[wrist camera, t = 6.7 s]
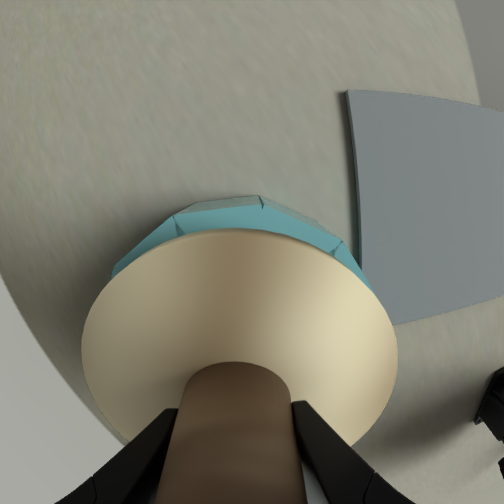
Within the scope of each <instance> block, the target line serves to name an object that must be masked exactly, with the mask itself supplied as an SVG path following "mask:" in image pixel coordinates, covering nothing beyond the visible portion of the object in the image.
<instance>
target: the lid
mask: <svg viewBox="0 0 504 504" xmlns="http://www.w3.org/2000/svg"><path fill="white" fill-rule="evenodd" d="M81 358H82V365H83V372H84V375H85V379H86V382H87V385H88V388H89V390H90V392H91V395H92V397H93V399H94V401H95V402H96V404H97V406H98V407H99V409H100V411H101V412H102V414H103V415H104V416H105V418H106V419H107V420H108V421H109V423H110V424H111V425H112V426H113V427H114V428H115V429H116V430H117V431H118V432H119V433H120V434H121V435H122V436H123V437H124V438H125V439H126V440H128V441H129V442H130V441H131V440H133V439H134V438H135V437H136V436H137V435H138V434H139V433H140V432H141V431H142V430H143V429H144V428H145V427H147V426H148V425H149V424H150V423H151V422H152V421H153V420H154V419H155V418H156V417H157V416H158V415H159V414H160V413H161V412H162V411H163V410H164V409H166V408H178V409H179V410H178V414H177V417H176V421H175V425H174V429H173V432H172V436H171V440H170V444H169V447H168V451H167V455H166V459H165V463H164V467H163V471H162V475H161V479H160V483H159V487H158V491H157V495H156V499H155V503H154V504H308V501H307V494H306V488H305V482H304V475H303V469H302V463H301V457H300V450H299V446H298V441H297V436H296V430H295V424H294V418H293V412H292V406H291V403H292V402H293V401H300V400H306V401H307V402H308V403H309V404H310V405H311V406H312V407H313V408H314V409H315V410H316V412H317V413H318V414H319V415H320V416H321V417H322V418H323V419H324V420H325V421H326V422H327V423H328V424H329V425H330V426H331V427H332V428H333V429H334V430H335V431H336V433H337V434H338V435H339V436H340V437H341V438H342V439H343V440H344V441H345V442H346V443H347V444H348V445H349V446H352V445H353V444H354V443H355V442H357V441H358V440H359V439H360V438H361V437H362V436H363V435H364V434H365V433H366V432H367V431H368V430H369V429H370V428H371V426H372V425H373V424H374V423H375V422H376V420H377V419H378V418H379V416H380V414H381V413H382V411H383V410H384V408H385V406H386V404H387V402H388V400H389V398H390V395H391V393H392V391H393V387H394V383H395V380H396V376H397V367H398V350H397V341H396V337H395V333H394V330H393V326H392V324H391V322H390V320H389V317H388V315H387V313H386V311H385V309H384V308H383V306H382V305H381V303H380V302H379V300H378V299H377V298H376V296H375V295H374V293H373V292H372V291H371V290H370V289H369V288H368V287H367V286H366V285H365V284H364V283H363V282H362V281H361V280H360V279H359V278H358V277H357V276H356V275H355V274H354V273H353V272H352V271H351V270H350V269H349V268H348V267H347V266H346V265H344V264H343V263H342V262H340V261H339V260H338V259H336V258H335V257H333V256H332V255H331V254H329V253H327V252H326V251H324V250H322V249H320V248H318V247H316V246H314V245H312V244H310V243H308V242H305V241H303V240H300V239H297V238H294V237H291V236H288V235H285V234H281V233H276V232H271V231H266V230H261V229H248V228H222V229H209V230H204V231H200V232H195V233H190V234H186V235H183V236H180V237H177V238H174V239H172V240H169V241H166V242H164V243H162V244H160V245H158V246H156V247H154V248H152V249H151V250H149V251H147V252H145V253H144V254H142V255H141V256H140V257H139V258H137V259H136V260H135V261H133V262H132V263H131V264H129V265H128V266H127V267H126V268H124V269H123V270H122V271H121V272H119V273H118V274H117V275H116V276H115V277H114V278H113V279H112V280H111V281H110V282H109V283H108V284H107V285H106V286H105V288H104V289H103V290H102V291H101V292H100V294H99V295H98V297H97V299H96V300H95V302H94V303H93V305H92V307H91V309H90V312H89V314H88V316H87V319H86V322H85V325H84V330H83V335H82V343H81Z"/></svg>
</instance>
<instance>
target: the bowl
mask: <svg viewBox="0 0 504 504" xmlns="http://www.w3.org/2000/svg"><path fill="white" fill-rule="evenodd" d="M222 228H248V229H261V230H266V231H271V232H276V233H281V234H285V235H288V236H291V237H294V238H297V239H300V240H303V241H305V242H308V243H310V244H312V245H314V246H316V247H318V248H320V249H322V250H324V251H326V252H327V253H329V254H331V255H332V256H333V257H335V258H336V259H338V260H339V261H340V262H342V263H343V264H344V265H346V266H347V267H348V268H349V269H350V270H351V271H352V272H353V273H354V274H355V275H356V276H357V277H358V278H359V279H360V280H361V281H362V282H363V283H364V284H365V285H366V286H367V287H368V288H369V289H370V290H371V291H372V292H373V293H374V291H373V290H372V288H371V286H370V285H369V283H368V281H367V279H366V278H365V276H364V274H363V273H362V271H361V269H360V268H359V266H358V264H357V263H356V261H355V259H354V258H353V256H352V254H351V253H350V251H349V250H348V248H347V246H346V245H345V243H344V242H343V241H342V240H341V239H340V238H338V237H337V236H336V235H334V234H333V233H332V232H330V231H329V230H328V229H326V228H325V227H323V226H322V225H321V224H319V223H318V222H317V221H315V220H313V219H311V218H308V217H306V216H304V215H302V214H300V213H298V212H295V211H293V210H291V209H289V208H287V207H284V206H282V205H280V204H278V203H275V202H273V201H271V200H269V199H266V198H264V197H262V196H259V197H258V195H256V196H247V197H239V198H230V199H222V200H214V201H207V202H199V203H195V204H193V205H191V206H189V207H187V208H185V209H183V210H182V211H180V212H178V213H176V214H174V215H173V216H171V217H170V218H169V219H167V220H166V221H165V222H164V223H163V224H161V225H160V226H159V227H158V228H157V229H155V230H154V231H153V232H152V233H151V234H150V235H148V236H147V237H146V238H145V239H144V240H143V241H141V242H140V243H139V244H138V245H137V246H136V247H134V248H133V249H132V250H131V251H130V252H129V253H128V254H127V255H125V256H124V257H123V258H122V259H121V260H120V261H119V262H118V263H117V264H115V266H114V267H113V271H112V275H111V279H110V281H111V280H112V279H113V278H114V277H115V276H116V275H117V274H118V273H119V272H121V271H122V270H123V269H124V268H126V267H127V266H128V265H129V264H131V263H132V262H133V261H135V260H136V259H137V258H139V257H140V256H141V255H142V254H144V253H145V252H147V251H149V250H151V249H152V248H154V247H156V246H158V245H160V244H162V243H164V242H166V241H169V240H172V239H174V238H177V237H180V236H183V235H186V234H190V233H195V232H200V231H204V230H209V229H222ZM374 295H375V293H374ZM375 296H376V295H375ZM376 298H377V297H376ZM377 299H378V298H377Z"/></svg>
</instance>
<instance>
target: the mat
mask: <svg viewBox="0 0 504 504" xmlns="http://www.w3.org/2000/svg"><path fill="white" fill-rule="evenodd" d="M345 95H346V101H347V108H348V115H349V122H350V130H351V138H352V146H353V156H354V166H355V178H356V191H357V207H358V230H359V268H360V269H361V271H362V273H363V274H364V276H365V278H366V279H367V281H368V283H369V285H370V286H371V288H372V290H373V291H374V293H375V295H376V297H377V298H378V300H379V302H380V303H381V305H382V306H383V308H384V309H385V311H386V313H387V315H388V317H389V320H390V322H391V324H392V325H397V324H401V323H406V322H410V321H415V320H419V319H423V318H427V317H431V316H435V315H439V314H442V313H446V312H450V311H454V310H457V309H461V308H464V307H468V306H471V305H474V304H478V303H481V302H484V301H487V300H490V299H493V298H496V297H500V296H502V295H504V112H501V111H497V110H493V109H489V108H485V107H481V106H477V105H472V104H467V103H463V102H458V101H452V100H447V99H441V98H435V97H428V96H421V95H413V94H404V93H394V92H382V91H367V90H347V91H345Z"/></svg>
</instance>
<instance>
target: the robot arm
mask: <svg viewBox="0 0 504 504" xmlns="http://www.w3.org/2000/svg"><path fill="white" fill-rule="evenodd" d="M291 406H292V412H293V418H294V424H295V430H296V436H297V441H298V446H299V450H300V457H301V463H302V469H303V475H304V482H305V488H306V494H307V501H308V504H416V503H414V502H412V501H411V500H409V499H408V498H407V497H405V496H404V495H402V494H401V493H400V492H398V491H397V490H396V489H395V488H393V487H392V486H391V485H390V484H389V483H388V482H386V481H385V480H384V479H383V478H382V477H381V476H380V475H379V474H378V473H377V472H375V470H374V469H373V468H372V467H370V466H369V465H368V464H367V463H366V462H365V461H364V460H363V459H362V458H361V457H360V456H359V455H358V454H357V453H356V452H355V451H354V450H353V449H352V448H351V447H350V446H349V445H348V444H347V443H346V442H345V441H344V440H343V439H342V438H341V437H340V436H339V435H338V434H337V433H336V431H335V430H334V429H333V428H332V427H331V426H330V425H329V424H328V423H327V422H326V421H325V420H324V419H323V418H322V417H321V416H320V415H319V414H318V413H317V412H316V410H315V409H314V408H313V407H312V406H311V405H310V404H309V403H308V402H307V401H306V400H300V401H293V402H292V403H291ZM178 410H179V409H178V408H166V409H164V410H163V411H162V412H161V413H160V414H159V415H158V416H157V417H156V418H155V419H154V420H153V421H152V422H151V423H150V424H149V425H148V426H147V427H145V428H144V429H143V430H142V431H141V432H140V433H139V434H138V435H137V436H136V437H135V438H134V439H133V440H131V441H130V442H129V443H128V444H127V445H126V446H125V447H124V448H123V449H122V450H121V451H119V452H118V453H117V454H116V455H115V456H114V457H113V458H112V459H110V460H109V461H108V462H107V463H106V464H105V465H104V466H103V467H101V468H100V469H99V470H98V471H97V472H96V473H95V474H94V475H93V477H90V478H89V479H87V480H86V481H85V482H84V483H83V484H81V485H80V486H79V487H78V488H76V489H75V490H74V491H73V492H71V493H70V494H68V495H67V496H65V497H64V498H63V499H61V500H60V501H58V502H56V503H55V504H154V503H155V499H156V495H157V491H158V487H159V483H160V479H161V475H162V471H163V467H164V463H165V459H166V455H167V451H168V447H169V444H170V440H171V436H172V432H173V429H174V425H175V421H176V417H177V414H178ZM483 421H484V423H485V424H486V425H487V427H488V428H489V429H490V431H491V432H492V433H493V435H494V436H495V437H496V439H497V440H498V441H502V442H503V443H504V369H502V370H500V371H498V372H497V373H496V374H495V375H494V376H493V379H492V381H491V384H490V386H489V389H488V391H487V393H486V396H485V398H484V400H483V402H482V405H481V407H480V409H479V411H478V413H477V415H476V417H475V419H474V423H475V425H477V424H479V423H481V422H483ZM498 464H499V467H500V471H501V473H502V476H503V479H504V457H503V458H502V459H501V460H500V461H499V462H498ZM374 472H375V473H374Z"/></svg>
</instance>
